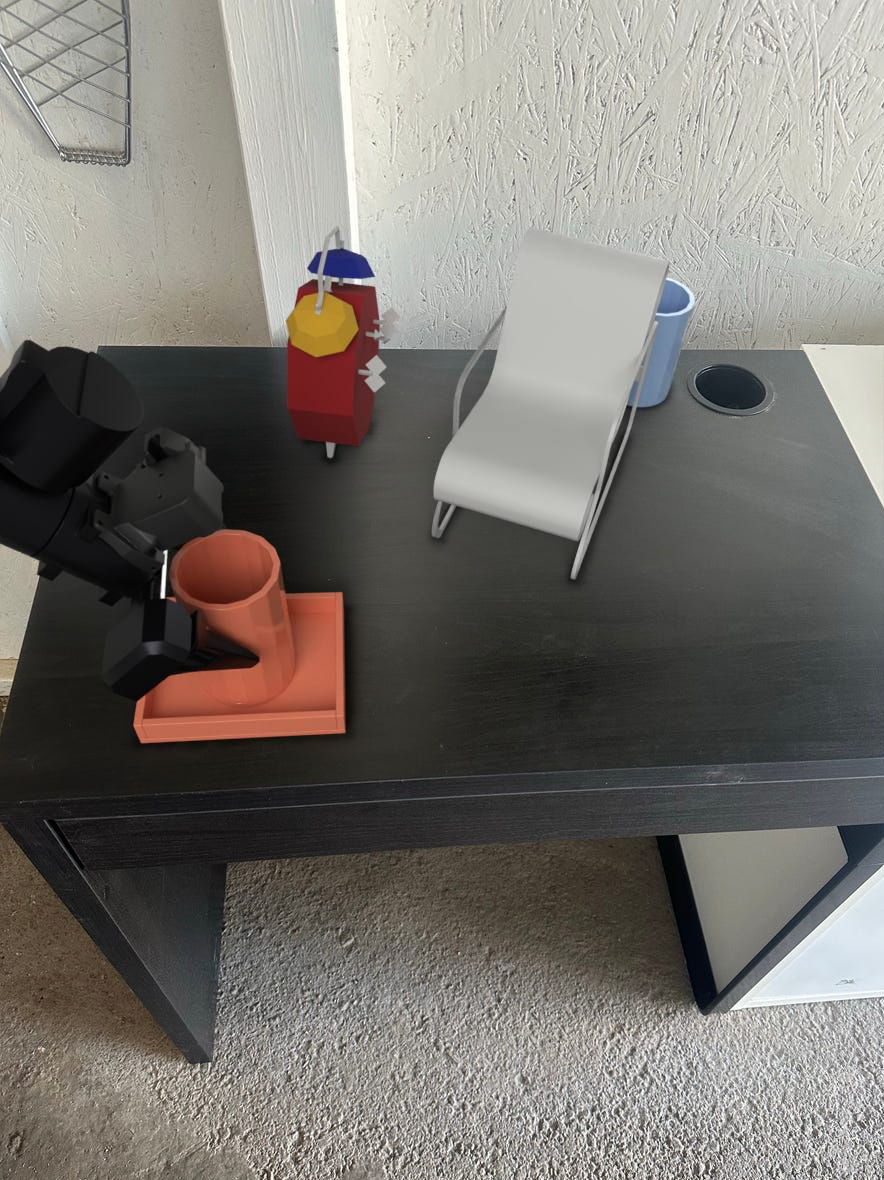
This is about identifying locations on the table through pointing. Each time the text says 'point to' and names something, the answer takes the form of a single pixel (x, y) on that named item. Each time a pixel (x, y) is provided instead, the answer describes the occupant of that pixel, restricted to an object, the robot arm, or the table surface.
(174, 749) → the table surface
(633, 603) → the table surface
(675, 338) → the blue cup
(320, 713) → the coral tray
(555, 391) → the chair
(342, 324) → the alarm clock
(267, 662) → the coral cup
